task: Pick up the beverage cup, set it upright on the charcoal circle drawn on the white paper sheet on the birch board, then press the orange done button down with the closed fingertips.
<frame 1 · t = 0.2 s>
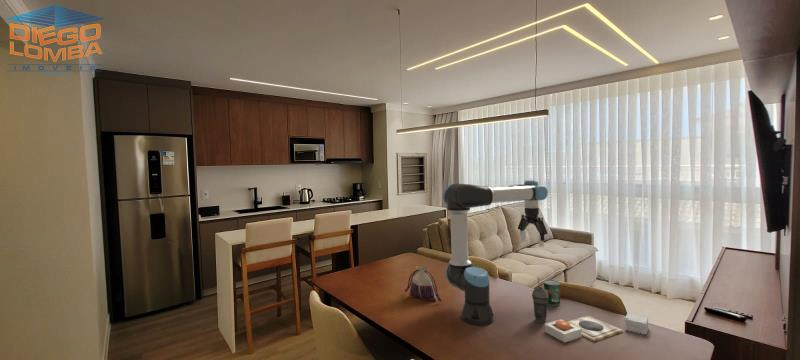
hand: (532, 244, 190), 28 cm above the table, tool pointing down, fingers open, 13 cm apart
small box: (636, 330, 145), on the table
button housing: (562, 334, 142), on the table
done button: (562, 325, 142), point 4 cm above the table, slide at 0.0 cm
pouch: (422, 299, 186), on the table
canned tomato: (552, 303, 175), on the table
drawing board: (591, 328, 146), on the table
beverage cup: (540, 320, 156), on the table
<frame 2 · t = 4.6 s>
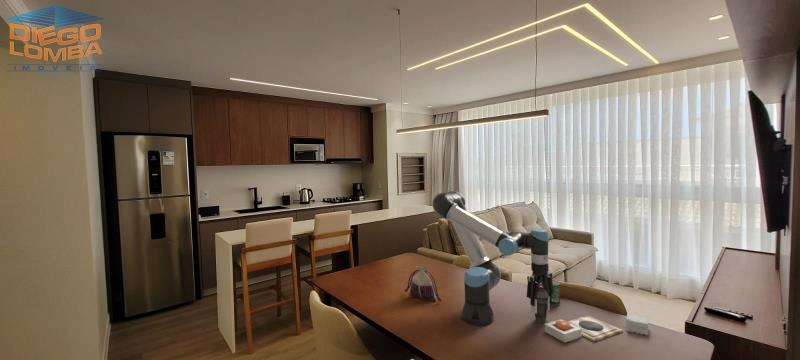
hand: (540, 310, 156), 5 cm above the table, tool pointing down, fingers closed on beverage cup, 7 cm apart
beverage cup: (540, 320, 156), on the table, touching gripper
everything else where it was.
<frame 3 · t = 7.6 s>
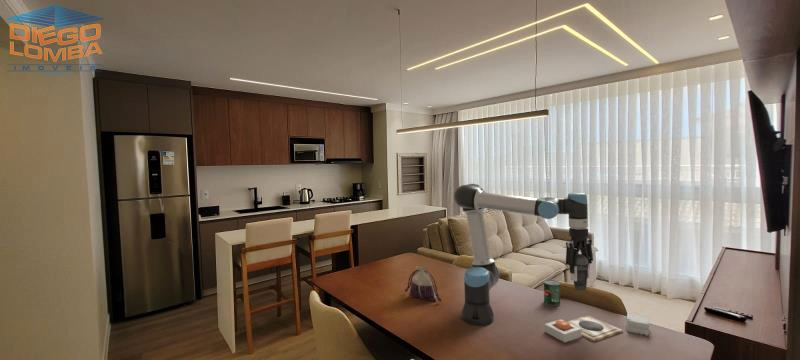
hand: (580, 278, 148), 22 cm above the table, tool pointing down, fingers closed on beverage cup, 7 cm apart
beverage cup: (580, 289, 148), point 17 cm above the table, touching gripper
everything else where it was.
when the fingers open (8 cm above the table, at t = 10.9 s): beverage cup drops 1 cm, resting on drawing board.
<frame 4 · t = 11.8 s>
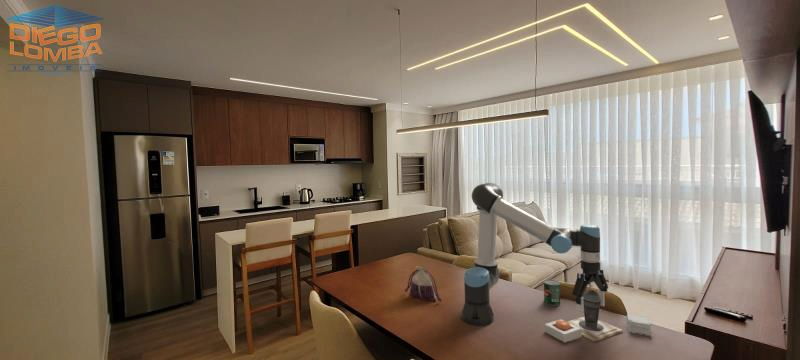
hand: (590, 308, 146), 9 cm above the table, tool pointing down, fingers open, 13 cm apart
beverage cup: (591, 326, 146), point 1 cm above the table, touching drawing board
everything else where it was.
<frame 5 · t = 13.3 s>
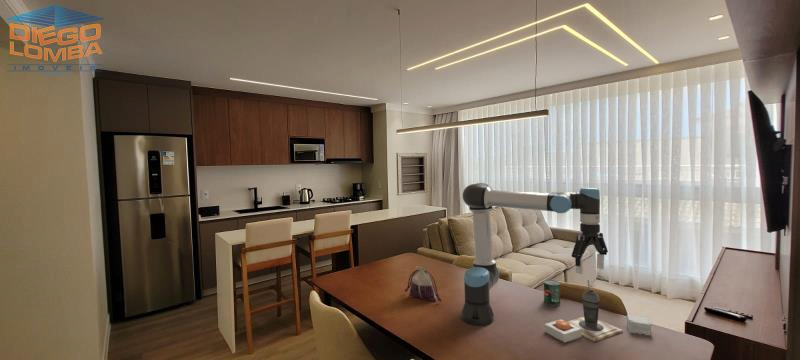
hand: (590, 271, 146), 26 cm above the table, tool pointing down, fingers open, 13 cm apart
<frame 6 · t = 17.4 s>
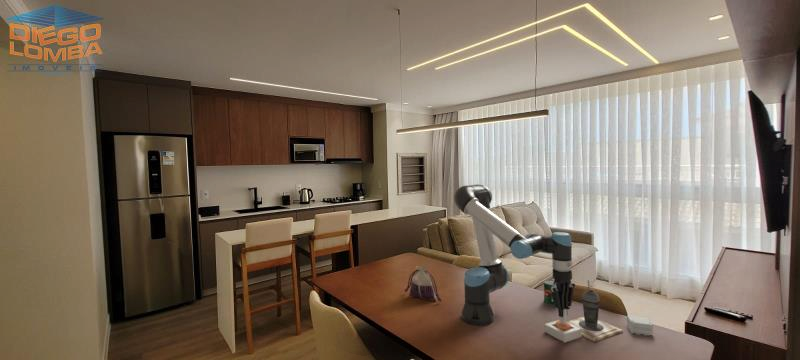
hand: (563, 323, 142), 5 cm above the table, tool pointing down, fingers closed
done button: (562, 326, 142), point 4 cm above the table, slide at 0.2 cm, touching gripper
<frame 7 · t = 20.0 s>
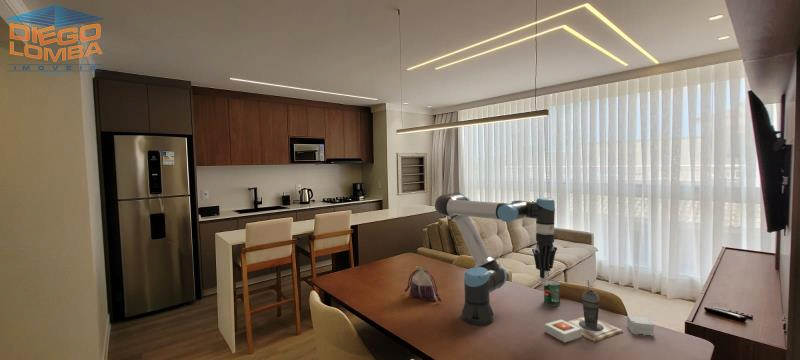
hand: (544, 284, 149), 19 cm above the table, tool pointing down, fingers closed
done button: (562, 327, 142), point 3 cm above the table, slide at 1.0 cm
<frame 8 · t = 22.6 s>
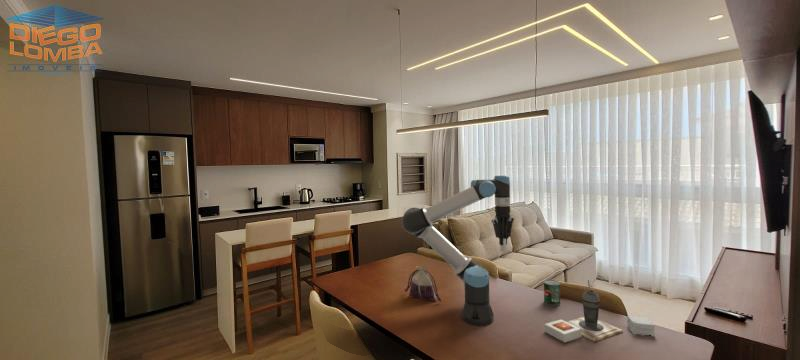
hand: (503, 251, 170), 29 cm above the table, tool pointing down, fingers closed
at the end: beverage cup 0.1 cm off-centre on the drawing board, point 1.2 cm above the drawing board's base; beverage cup tilted 0°; done button slide at 1.0 cm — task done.
